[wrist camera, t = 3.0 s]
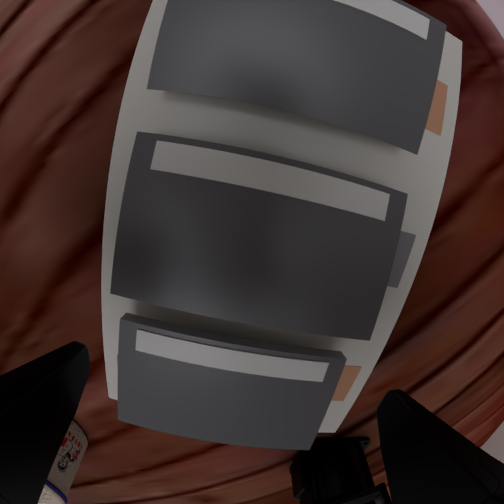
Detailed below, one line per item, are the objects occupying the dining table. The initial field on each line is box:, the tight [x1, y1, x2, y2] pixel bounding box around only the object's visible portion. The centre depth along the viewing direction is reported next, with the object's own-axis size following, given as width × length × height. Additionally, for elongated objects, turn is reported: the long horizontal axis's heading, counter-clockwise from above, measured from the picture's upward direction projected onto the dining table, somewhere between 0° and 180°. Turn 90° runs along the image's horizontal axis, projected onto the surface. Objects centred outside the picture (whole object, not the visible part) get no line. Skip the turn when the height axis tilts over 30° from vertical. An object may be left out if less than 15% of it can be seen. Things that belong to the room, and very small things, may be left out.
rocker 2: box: [110, 131, 408, 341], centre depth 12 cm, size 12×7×1 cm, turn 78°
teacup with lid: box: [38, 420, 88, 504], centre depth 17 cm, size 12×9×12 cm
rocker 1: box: [147, 0, 446, 155], centre depth 10 cm, size 12×7×1 cm, turn 78°
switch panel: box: [101, 0, 462, 433], centre depth 15 cm, size 18×29×3 cm, turn 168°
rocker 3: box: [118, 313, 347, 450], centre depth 15 cm, size 12×7×1 cm, turn 78°
